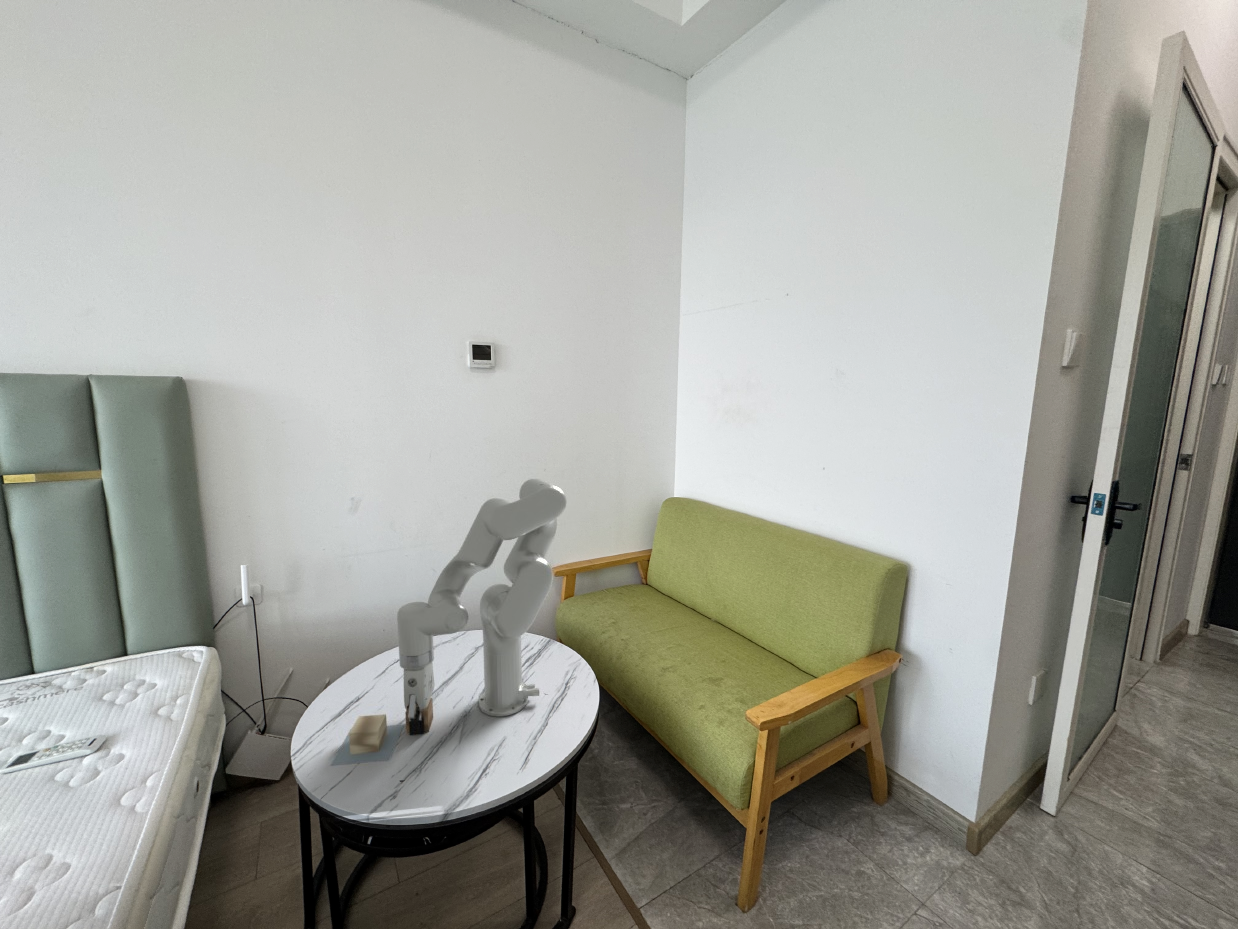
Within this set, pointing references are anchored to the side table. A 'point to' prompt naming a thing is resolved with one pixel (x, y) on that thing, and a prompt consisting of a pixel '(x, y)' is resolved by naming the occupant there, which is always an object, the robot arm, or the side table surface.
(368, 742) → the beech block
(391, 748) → the build plate
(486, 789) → the side table surface
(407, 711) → the walnut block
